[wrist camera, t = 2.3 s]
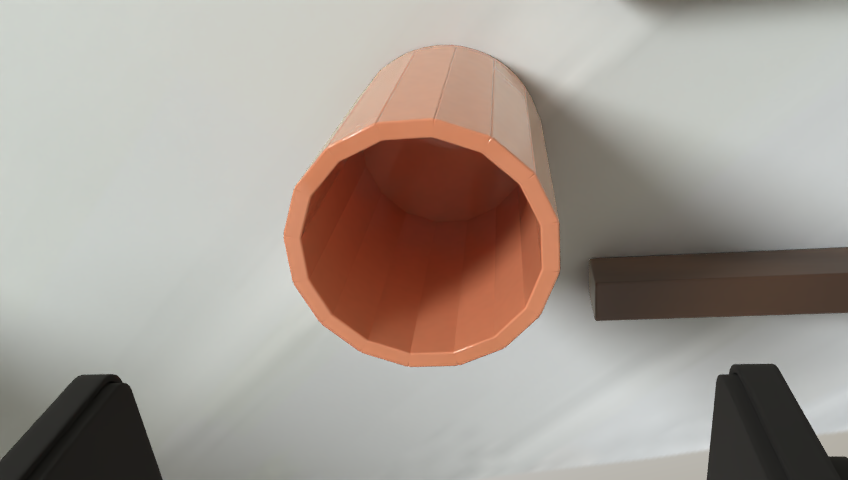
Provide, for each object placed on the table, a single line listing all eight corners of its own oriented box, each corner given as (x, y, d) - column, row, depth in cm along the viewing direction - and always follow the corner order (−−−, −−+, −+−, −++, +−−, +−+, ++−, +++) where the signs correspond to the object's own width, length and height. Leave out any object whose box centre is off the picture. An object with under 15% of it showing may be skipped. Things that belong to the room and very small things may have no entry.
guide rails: (588, 294, 27) (595, 321, 25) (588, -76, 22) (596, -74, 20) (1043, 277, 25) (1085, 306, 23) (1175, -139, 19) (1243, -142, 18)
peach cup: (367, 229, 27) (310, 369, 19) (340, 53, 24) (260, 130, 16) (543, 220, 26) (562, 364, 18) (537, 36, 23) (557, 109, 15)
